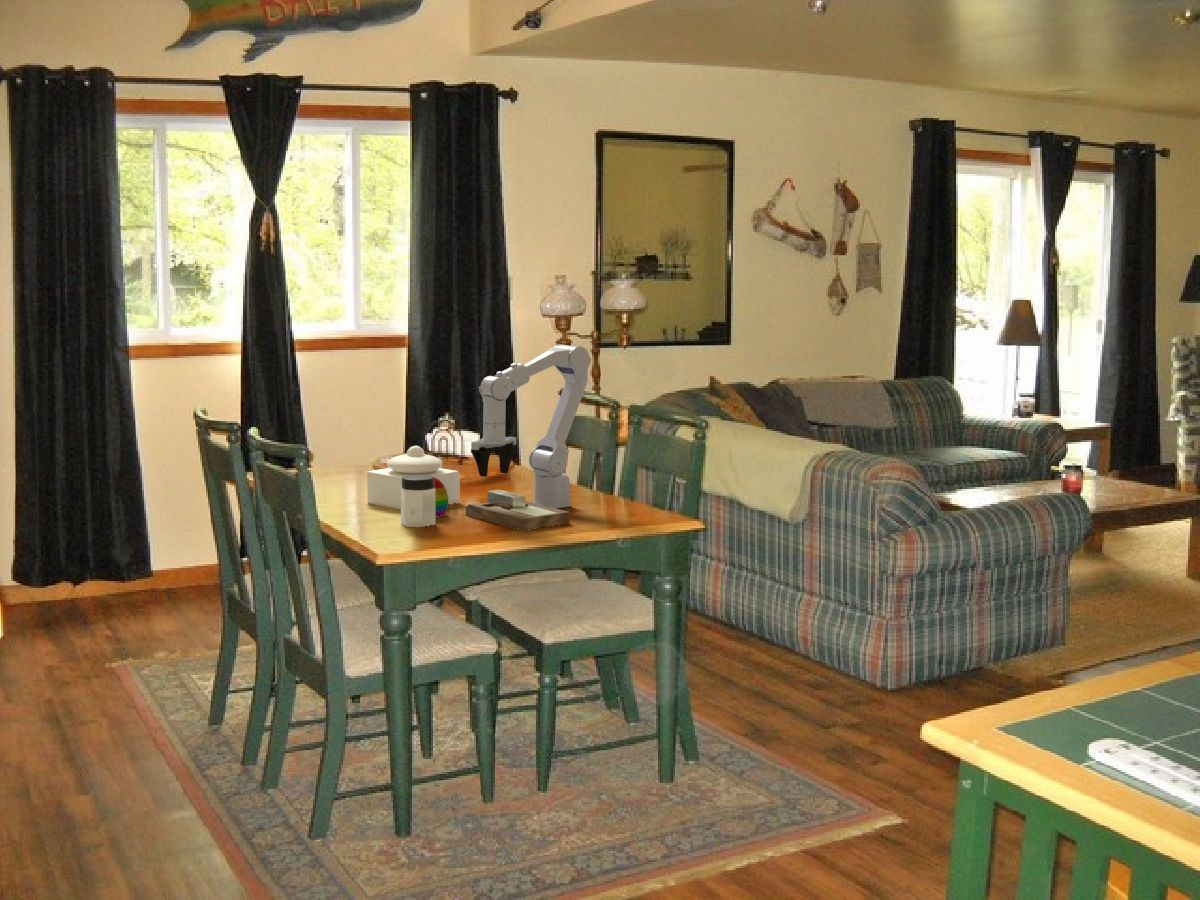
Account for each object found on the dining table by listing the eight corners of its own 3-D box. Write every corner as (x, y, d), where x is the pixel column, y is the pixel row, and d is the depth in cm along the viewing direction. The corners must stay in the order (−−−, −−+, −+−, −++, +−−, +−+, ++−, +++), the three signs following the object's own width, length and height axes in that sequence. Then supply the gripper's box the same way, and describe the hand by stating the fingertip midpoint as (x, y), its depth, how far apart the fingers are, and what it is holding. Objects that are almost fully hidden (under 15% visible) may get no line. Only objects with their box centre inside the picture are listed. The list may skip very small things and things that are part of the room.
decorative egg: (413, 512, 347) (413, 475, 346) (444, 511, 350) (444, 473, 348) (420, 519, 340) (419, 480, 338) (451, 517, 342) (451, 479, 341)
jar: (395, 526, 330) (395, 479, 329) (405, 519, 338) (405, 473, 337) (430, 528, 329) (430, 480, 327) (439, 521, 337) (439, 475, 335)
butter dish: (413, 513, 348) (413, 453, 346) (366, 503, 359) (365, 445, 356) (460, 503, 362) (460, 445, 359) (413, 494, 373) (412, 438, 370)
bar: (499, 500, 350) (499, 489, 350) (525, 507, 342) (525, 496, 341) (487, 502, 347) (487, 491, 347) (512, 509, 339) (512, 497, 339)
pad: (531, 507, 342) (531, 506, 342) (557, 513, 335) (557, 512, 335) (509, 510, 338) (509, 509, 338) (535, 517, 330) (535, 516, 330)
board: (511, 508, 356) (511, 494, 355) (569, 523, 338) (569, 508, 337) (465, 515, 346) (465, 500, 345) (522, 531, 328) (522, 516, 327)
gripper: (503, 418, 352) (502, 469, 354) (463, 423, 341) (462, 475, 343) (522, 421, 347) (521, 472, 349) (482, 426, 336) (481, 479, 339)
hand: (493, 474), depth 346 cm, fingers open, 7 cm apart
